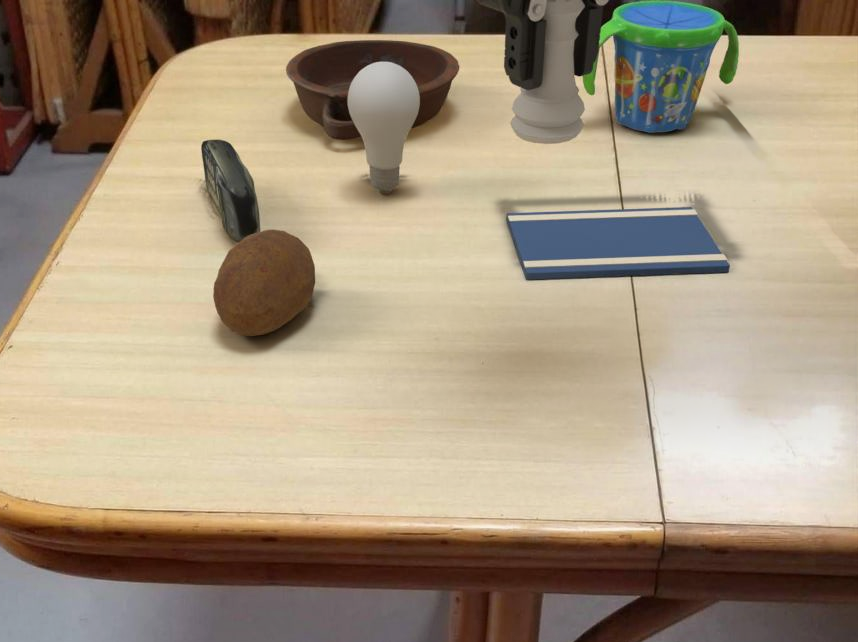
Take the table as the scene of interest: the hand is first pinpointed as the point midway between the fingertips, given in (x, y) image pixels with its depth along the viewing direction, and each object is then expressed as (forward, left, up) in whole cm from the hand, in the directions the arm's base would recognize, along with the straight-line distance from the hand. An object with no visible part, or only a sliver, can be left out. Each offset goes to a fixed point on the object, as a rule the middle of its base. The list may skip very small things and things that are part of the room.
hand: (550, 77), depth 62 cm
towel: (-10, -16, -19) cm, 27 cm away
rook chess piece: (0, 0, -3) cm, 3 cm away
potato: (+18, -6, -19) cm, 27 cm away
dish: (+8, -48, -19) cm, 53 cm away
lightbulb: (+8, -28, -19) cm, 35 cm away
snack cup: (-20, -43, -19) cm, 51 cm away
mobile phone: (+21, -23, -19) cm, 37 cm away
